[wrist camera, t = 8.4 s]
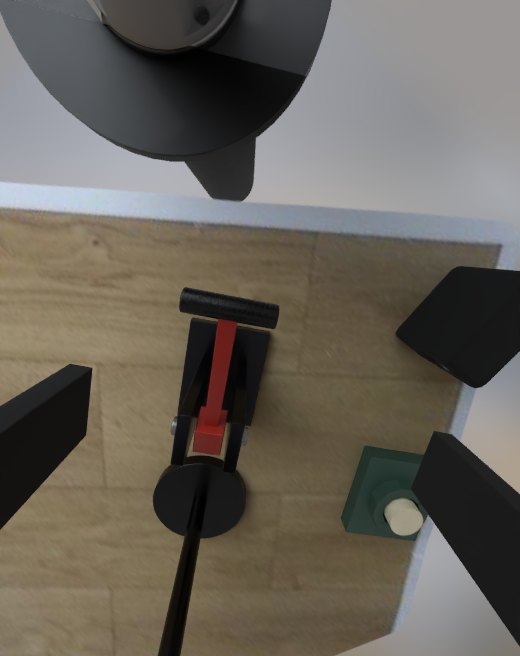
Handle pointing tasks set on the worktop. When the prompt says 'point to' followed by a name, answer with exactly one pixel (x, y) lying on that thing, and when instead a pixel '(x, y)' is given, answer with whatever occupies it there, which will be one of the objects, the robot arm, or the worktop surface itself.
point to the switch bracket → (237, 390)
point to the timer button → (403, 516)
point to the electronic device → (468, 323)
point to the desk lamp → (194, 526)
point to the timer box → (381, 491)
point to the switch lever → (222, 353)
